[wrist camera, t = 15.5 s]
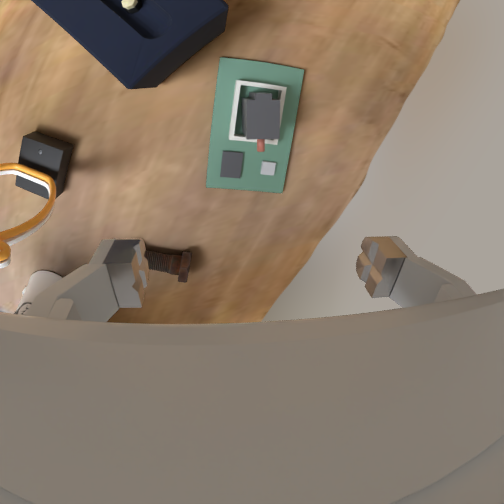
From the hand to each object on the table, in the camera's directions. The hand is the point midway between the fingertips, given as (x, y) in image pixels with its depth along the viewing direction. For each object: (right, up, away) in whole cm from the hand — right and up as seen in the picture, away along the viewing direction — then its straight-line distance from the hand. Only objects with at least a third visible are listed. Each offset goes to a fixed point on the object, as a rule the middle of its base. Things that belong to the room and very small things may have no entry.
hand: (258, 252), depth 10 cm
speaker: (-16, +34, +17) cm, 41 cm away
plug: (0, +20, +27) cm, 33 cm away
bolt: (-19, 0, +39) cm, 43 cm away
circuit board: (0, +19, +29) cm, 34 cm away
